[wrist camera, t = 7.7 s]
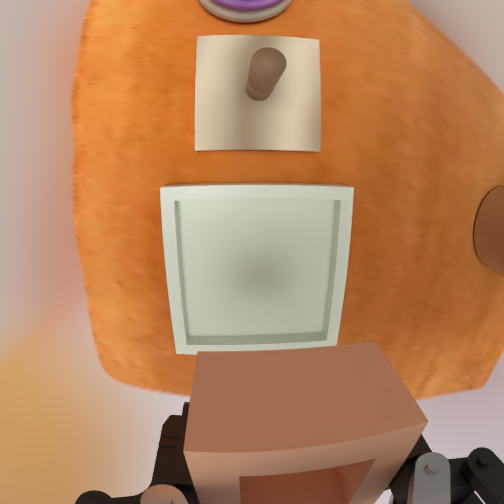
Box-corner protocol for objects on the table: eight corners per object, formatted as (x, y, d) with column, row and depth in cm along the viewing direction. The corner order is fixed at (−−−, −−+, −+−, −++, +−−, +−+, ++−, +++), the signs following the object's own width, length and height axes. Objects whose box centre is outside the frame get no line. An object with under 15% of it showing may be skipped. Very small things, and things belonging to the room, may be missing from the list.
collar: (374, 341, 10) (428, 420, 6) (339, 454, 12) (360, 519, 8) (197, 351, 9) (183, 451, 5) (213, 464, 11) (212, 536, 8)
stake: (314, 46, 20) (347, 4, 12) (315, 151, 22) (354, 150, 15) (199, 43, 19) (184, -4, 11) (197, 151, 22) (178, 147, 14)
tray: (344, 184, 23) (353, 187, 21) (330, 336, 27) (335, 348, 26) (166, 184, 22) (160, 187, 21) (179, 341, 27) (176, 353, 25)
